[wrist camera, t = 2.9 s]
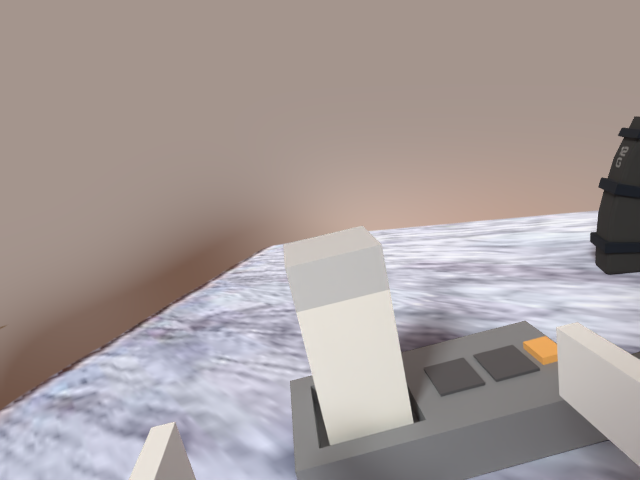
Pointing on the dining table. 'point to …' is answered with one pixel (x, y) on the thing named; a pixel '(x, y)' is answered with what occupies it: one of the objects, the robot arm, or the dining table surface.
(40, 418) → the dining table surface
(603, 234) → the magazine
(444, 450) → the power strip
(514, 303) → the dining table surface
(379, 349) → the block
